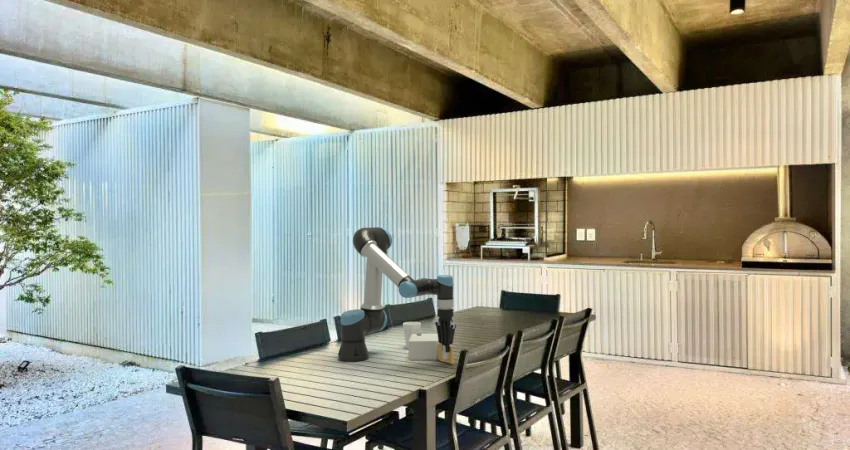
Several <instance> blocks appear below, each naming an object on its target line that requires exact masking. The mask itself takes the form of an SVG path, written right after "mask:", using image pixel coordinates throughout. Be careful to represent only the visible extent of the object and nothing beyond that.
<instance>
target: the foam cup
mask: <svg viewBox="0 0 850 450" xmlns="http://www.w3.org/2000/svg"><path fill="white" fill-rule="evenodd" d="M421 325H422V323H421V322H418V321H406V322H403V323H402V328H403V334H404V340H405V346H406V349H408V350H409V340H410V337H411V335H412V334H417V333H421V328H422V326H421Z"/></svg>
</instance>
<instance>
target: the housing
mask: <svg viewBox="0 0 850 450" xmlns="http://www.w3.org/2000/svg"><path fill="white" fill-rule="evenodd" d="M436 343H439V340H438V334H437V333H421V332H420V333H417V334H412V335H411V337H410V340H409V349H408V359H409V361H423V360H424V361H431V360H432V361H433V360H434V361H435V360H437V355H436ZM437 361H438V360H437Z"/></svg>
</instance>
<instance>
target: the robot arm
mask: <svg viewBox="0 0 850 450" xmlns="http://www.w3.org/2000/svg"><path fill="white" fill-rule="evenodd" d="M352 244H353V248H354V249H355V250H356V252H357V253H358V254H359V255H360V256H361V257H362V258H366V261H365V263H366V264H365V278H364V279H365V281H364V297H363V303H362V304H361V305H360V309H357V308H356V309H349V310H346V311H344V312H342V313H341V315H340V320H339V321H340V322H339V323H340V337H341V339H340V342H341V343H340V347H339V350H338V354H337V359H338V361H340V362H350V363H352V362H362V361H365V360H368V359H369V358H370V356H369V355H370V353H369V349H368V348H367V345H366V335H369V334H375V333H378V332H380V331H382V330H384V329H385V327H386V325H387V322H388V316H387V314H386V311H385V310H384V306H383V305H382V303H381V302H382V286H383V274H384V276H386V277H387V279H389V280H390V281H391V282H392V283H393V284H394V285H395V286H396V287H397V288H398V293H399V295H400V296H401V297H402V298H404V299H411V298H416V297H423V296H427V295H429V296H430V295H431V296H432V295H433V296H434V295H435V296H437V297H436V300H437V301H436V304H437V305H436V307H437V312H436V313H437V314H436V315H437V317H438V321H435V322H434V324H435V328H436V334H438V340H439V343H441V344H442V351H443V359H444V360H445V359H449V346H451V345H453V343H454V337H455V331H456V328H457V324H454V322H453V318H454V309H453V308H454V277H453V275H450V274H438V275H437V277H436V278H426V277H422V278H421V277H420V278H419V277H418V278H417V279H413V278H412V277H411V276H410V275H409V274H408V273H407V272H406V271H405V270H404V269H402V267H401V266H399V265H398V263H396V262H395V261H394V260H393V259H392V258H391V257H390V256H389V255H388V250H389V249H390V248H391V247H392V244H393V237H392V234H391V232H390V231H389V230H388V229H387V228H385V227H380V226H377V227H376V226H375V227H361V228H359V229H357V230H356V231H355V232H354V234H353V237H352Z"/></svg>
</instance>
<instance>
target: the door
mask: <svg viewBox="0 0 850 450" xmlns="http://www.w3.org/2000/svg"><path fill="white" fill-rule="evenodd" d="M436 355H437V361H442V362H445V363H448V364H451V365H452V364H454V346H451V345H450V346H449V359H445V360H444V359H443V351H442V344H441V343H436Z"/></svg>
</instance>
